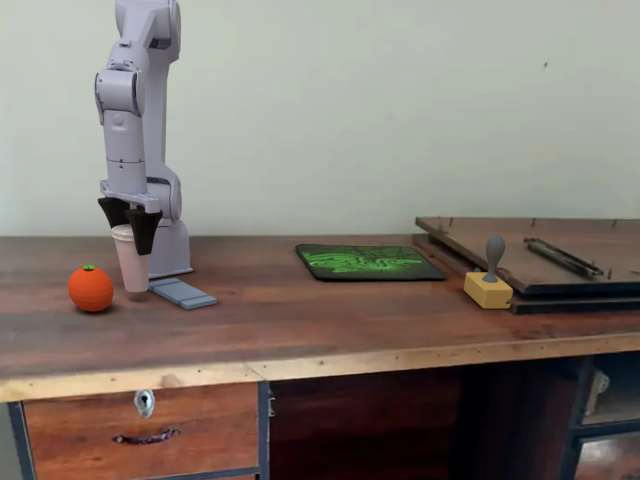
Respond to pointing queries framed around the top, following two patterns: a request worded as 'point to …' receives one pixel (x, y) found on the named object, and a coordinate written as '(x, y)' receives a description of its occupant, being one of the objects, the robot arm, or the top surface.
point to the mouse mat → (367, 262)
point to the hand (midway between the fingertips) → (133, 248)
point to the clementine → (90, 288)
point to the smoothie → (131, 259)
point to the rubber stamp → (489, 279)
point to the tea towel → (181, 293)
